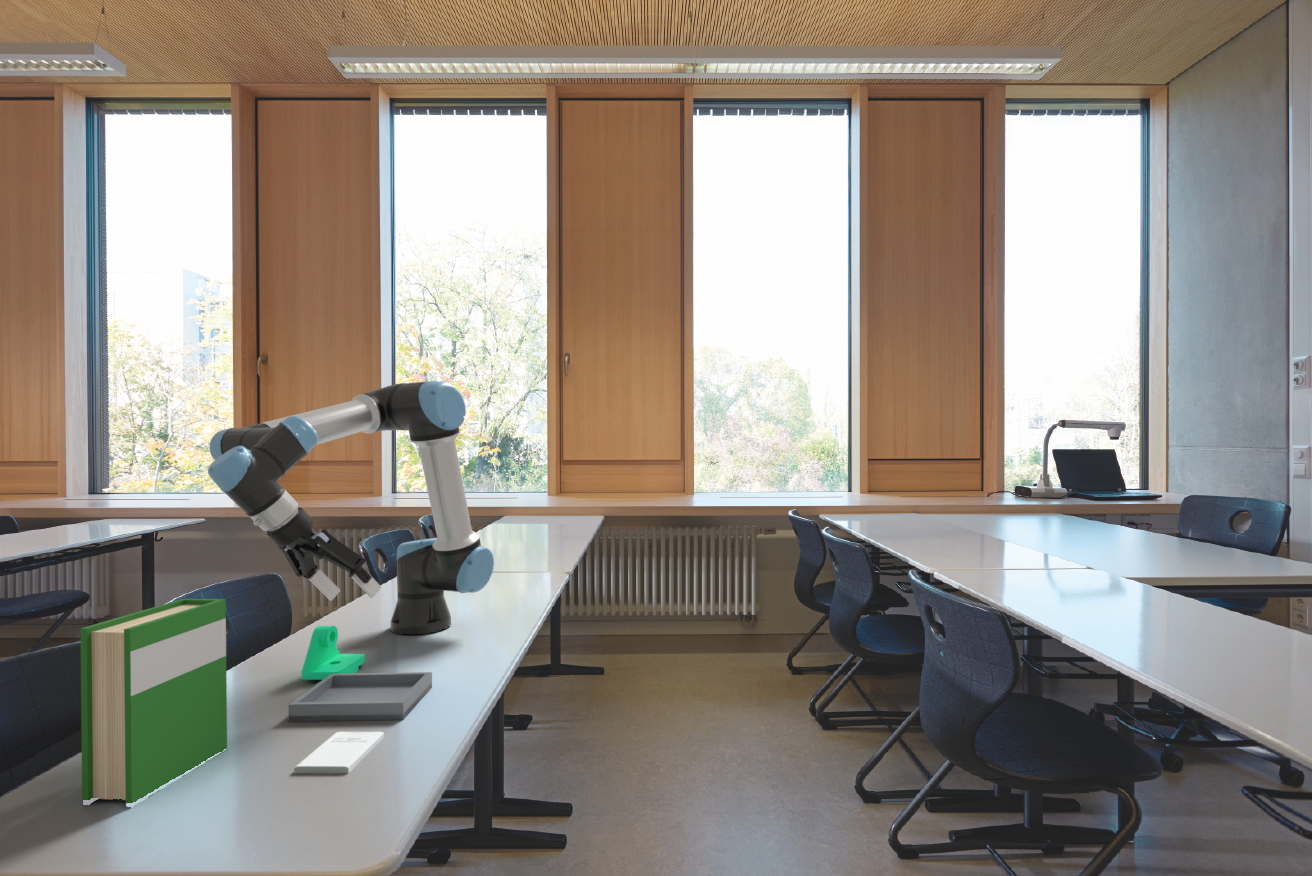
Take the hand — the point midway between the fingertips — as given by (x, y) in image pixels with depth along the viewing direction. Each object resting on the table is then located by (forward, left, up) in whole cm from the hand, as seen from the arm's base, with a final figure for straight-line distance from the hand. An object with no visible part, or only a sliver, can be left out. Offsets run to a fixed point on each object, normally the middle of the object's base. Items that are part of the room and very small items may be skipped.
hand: (355, 594), depth 140 cm
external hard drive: (+32, +11, -19) cm, 39 cm away
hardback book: (+38, -13, -18) cm, 44 cm away
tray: (+11, +6, -18) cm, 22 cm away
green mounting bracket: (-6, -7, -19) cm, 21 cm away
